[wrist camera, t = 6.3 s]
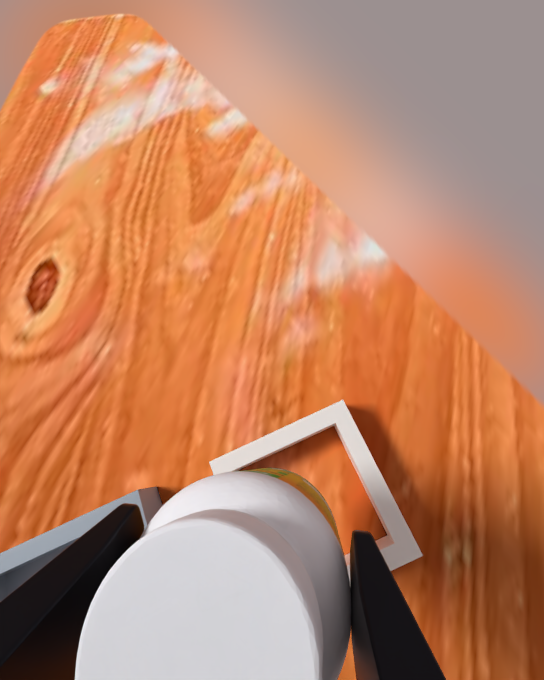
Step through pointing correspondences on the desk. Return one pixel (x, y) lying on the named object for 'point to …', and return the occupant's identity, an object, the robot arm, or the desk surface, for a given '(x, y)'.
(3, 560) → the tray
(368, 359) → the desk surface
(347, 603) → the supplement bottle
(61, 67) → the desk surface
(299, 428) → the holder collar
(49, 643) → the robot arm
